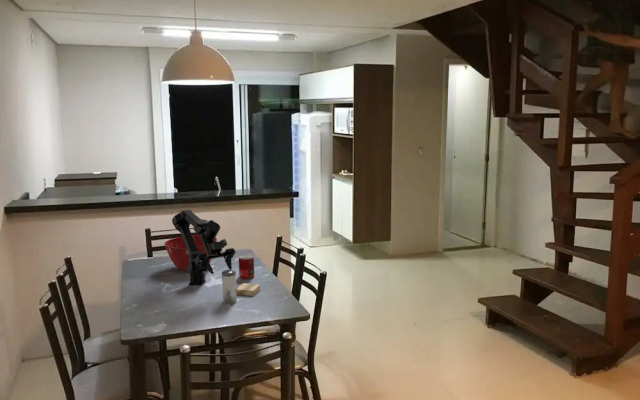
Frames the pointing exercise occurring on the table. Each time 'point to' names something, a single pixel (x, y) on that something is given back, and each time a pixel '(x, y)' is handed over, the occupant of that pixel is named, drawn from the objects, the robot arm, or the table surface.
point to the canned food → (246, 266)
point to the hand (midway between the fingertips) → (222, 271)
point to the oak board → (247, 289)
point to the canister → (229, 286)
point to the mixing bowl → (182, 251)
